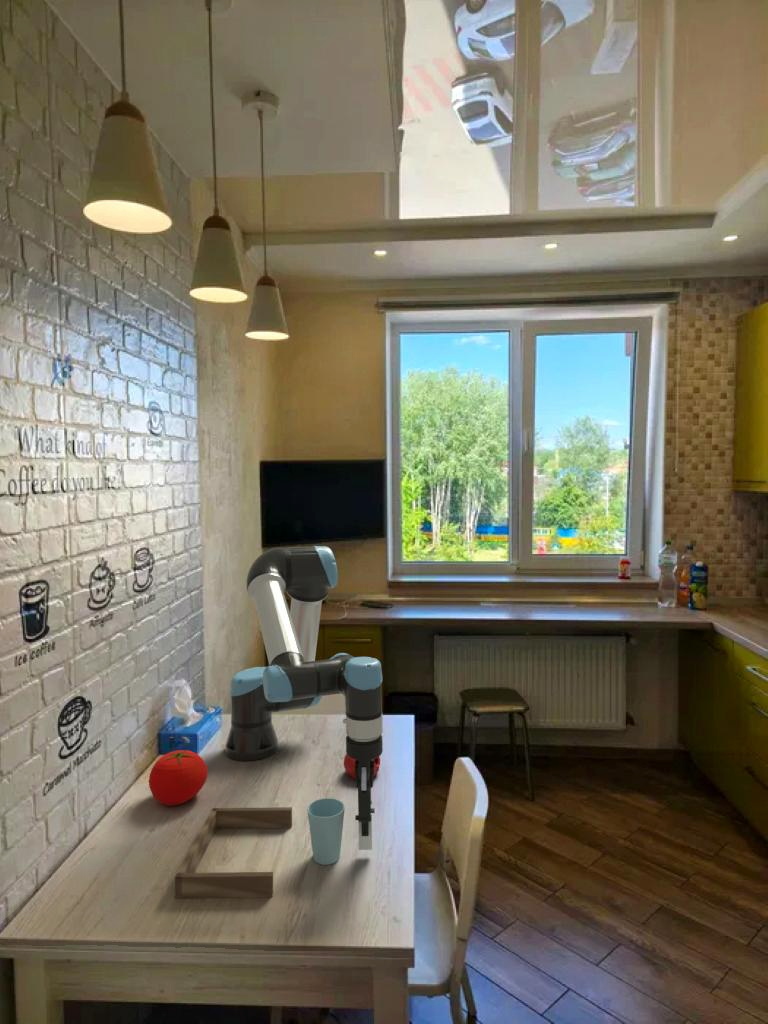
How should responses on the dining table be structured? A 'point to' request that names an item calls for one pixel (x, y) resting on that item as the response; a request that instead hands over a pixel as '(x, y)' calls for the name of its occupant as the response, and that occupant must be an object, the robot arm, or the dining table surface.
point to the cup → (326, 829)
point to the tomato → (177, 777)
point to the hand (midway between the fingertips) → (365, 847)
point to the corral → (229, 882)
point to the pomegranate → (350, 766)
